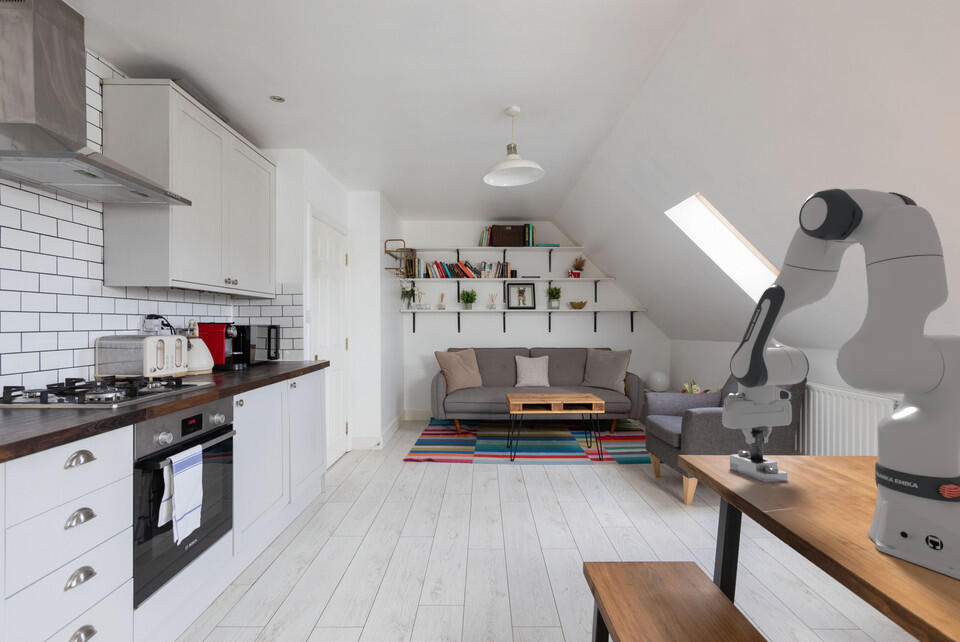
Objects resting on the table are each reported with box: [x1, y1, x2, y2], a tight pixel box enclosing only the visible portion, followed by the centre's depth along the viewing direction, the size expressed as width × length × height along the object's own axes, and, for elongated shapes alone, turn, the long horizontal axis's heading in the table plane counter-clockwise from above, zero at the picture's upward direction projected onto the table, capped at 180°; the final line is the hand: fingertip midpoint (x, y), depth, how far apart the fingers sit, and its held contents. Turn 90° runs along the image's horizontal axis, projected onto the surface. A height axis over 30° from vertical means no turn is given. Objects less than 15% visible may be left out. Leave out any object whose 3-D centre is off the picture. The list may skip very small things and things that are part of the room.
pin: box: [749, 426, 766, 462], centre depth 126 cm, size 4×4×10 cm
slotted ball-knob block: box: [729, 450, 788, 484], centre depth 126 cm, size 12×7×5 cm, turn 14°
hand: (756, 443), depth 126 cm, fingers closed on pin, 3 cm apart
